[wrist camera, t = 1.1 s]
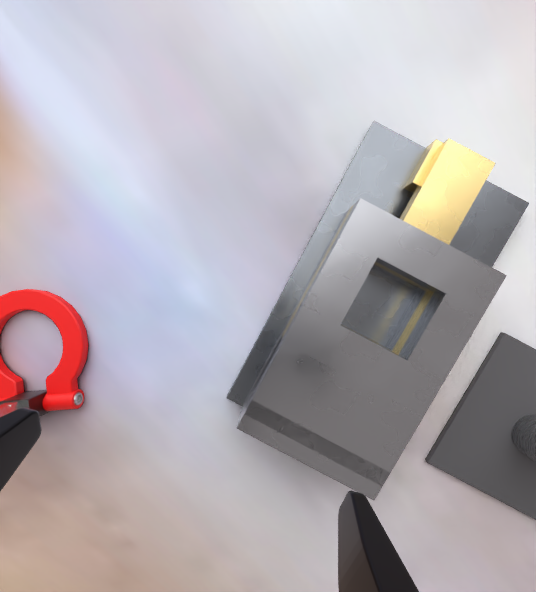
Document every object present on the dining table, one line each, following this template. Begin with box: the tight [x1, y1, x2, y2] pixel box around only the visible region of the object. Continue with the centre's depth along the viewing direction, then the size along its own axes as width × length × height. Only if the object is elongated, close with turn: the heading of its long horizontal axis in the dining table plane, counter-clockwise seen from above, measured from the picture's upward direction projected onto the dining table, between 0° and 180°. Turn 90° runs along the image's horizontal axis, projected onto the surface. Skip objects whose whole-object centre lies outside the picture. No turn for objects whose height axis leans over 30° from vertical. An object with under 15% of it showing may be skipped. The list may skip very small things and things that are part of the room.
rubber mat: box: [425, 333, 536, 519], centre depth 22 cm, size 11×11×1 cm
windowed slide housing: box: [227, 121, 529, 500], centre depth 19 cm, size 22×12×4 cm, turn 152°
